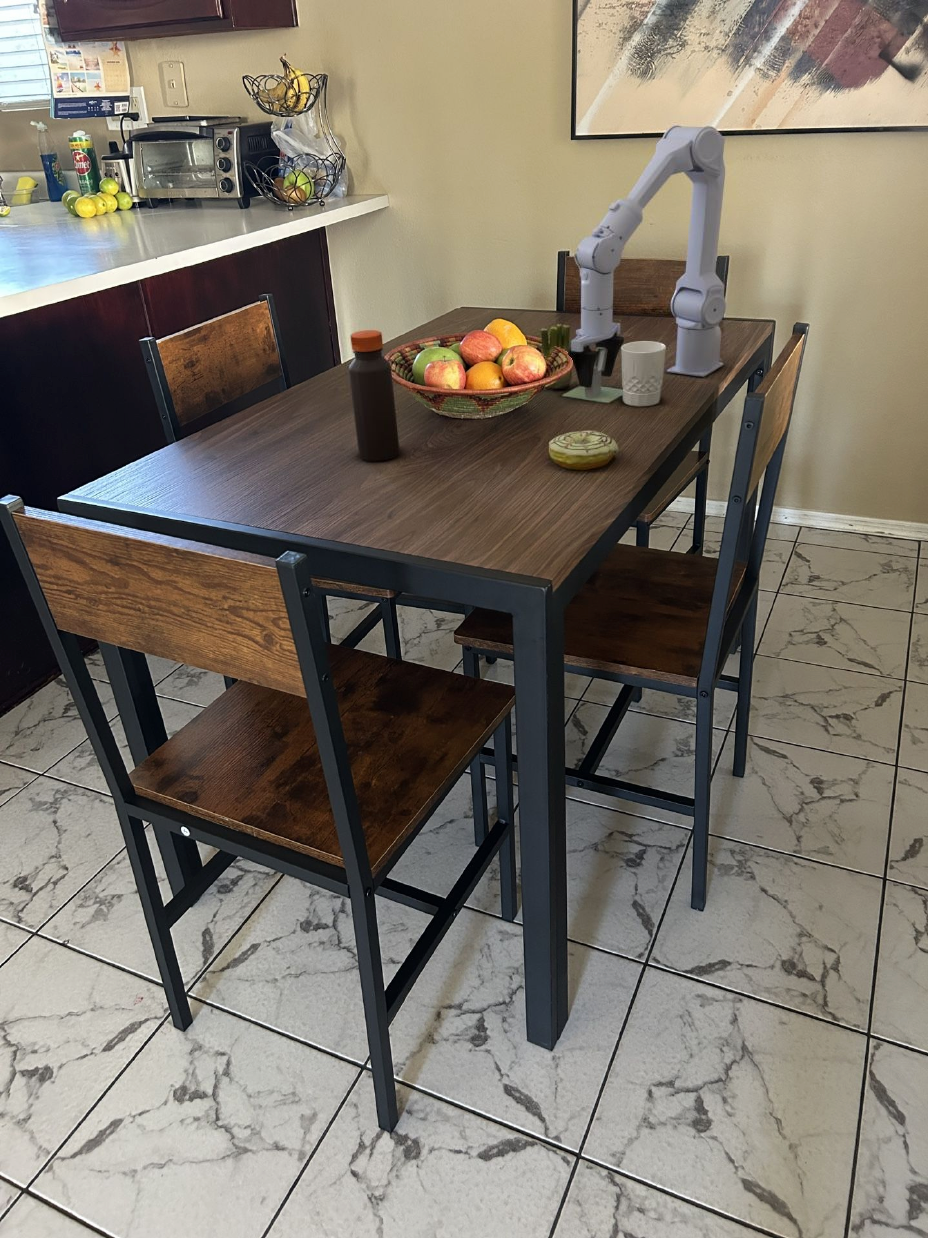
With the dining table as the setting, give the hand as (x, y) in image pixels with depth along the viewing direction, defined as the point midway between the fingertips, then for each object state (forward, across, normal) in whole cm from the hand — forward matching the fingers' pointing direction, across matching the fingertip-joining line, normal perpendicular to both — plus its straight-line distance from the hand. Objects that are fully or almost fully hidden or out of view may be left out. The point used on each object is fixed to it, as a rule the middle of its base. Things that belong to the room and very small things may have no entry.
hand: (595, 380), depth 176 cm
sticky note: (+2, 0, 0) cm, 2 cm away
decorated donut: (+3, +31, +16) cm, 35 cm away
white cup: (+3, 0, +10) cm, 10 cm away
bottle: (+3, +45, -15) cm, 48 cm away
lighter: (+2, 0, 0) cm, 2 cm away
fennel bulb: (+3, 0, -9) cm, 9 cm away
